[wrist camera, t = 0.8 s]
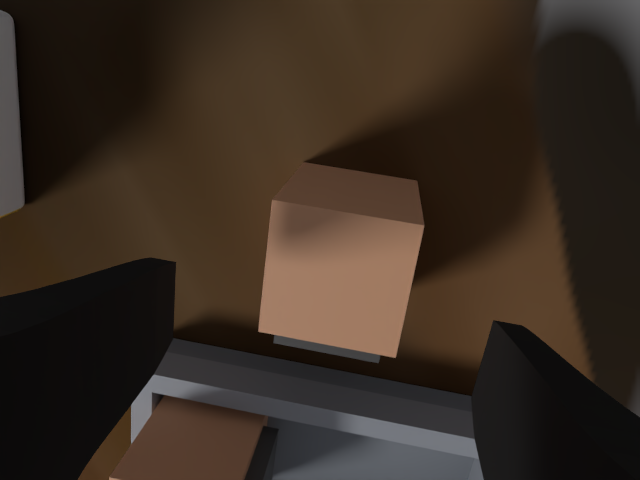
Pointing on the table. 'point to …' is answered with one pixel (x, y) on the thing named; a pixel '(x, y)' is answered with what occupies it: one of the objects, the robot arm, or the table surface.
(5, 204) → the medicine bottle
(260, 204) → the table surface
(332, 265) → the tan matte cube
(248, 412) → the grey rimmed tray
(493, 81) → the table surface
